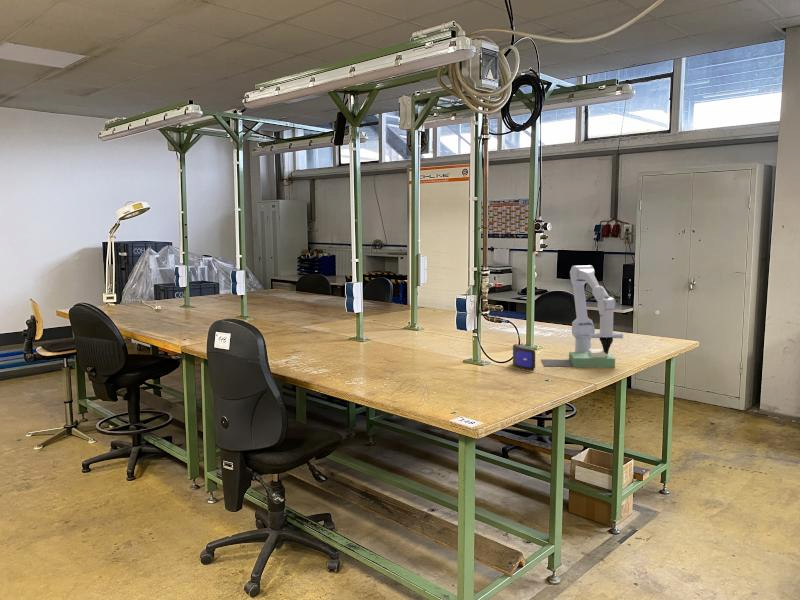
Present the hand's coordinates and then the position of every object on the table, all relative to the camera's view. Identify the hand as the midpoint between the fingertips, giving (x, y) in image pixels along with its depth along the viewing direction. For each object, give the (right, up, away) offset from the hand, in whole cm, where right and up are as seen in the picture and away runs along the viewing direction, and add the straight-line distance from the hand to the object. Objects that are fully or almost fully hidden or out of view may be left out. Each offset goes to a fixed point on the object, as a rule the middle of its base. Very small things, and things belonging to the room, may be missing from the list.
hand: (605, 353), depth 280 cm
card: (-4, -1, +1) cm, 4 cm away
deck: (-6, -5, +1) cm, 8 cm away
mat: (-22, -5, +3) cm, 22 cm away
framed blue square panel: (-38, -6, -2) cm, 38 cm away
